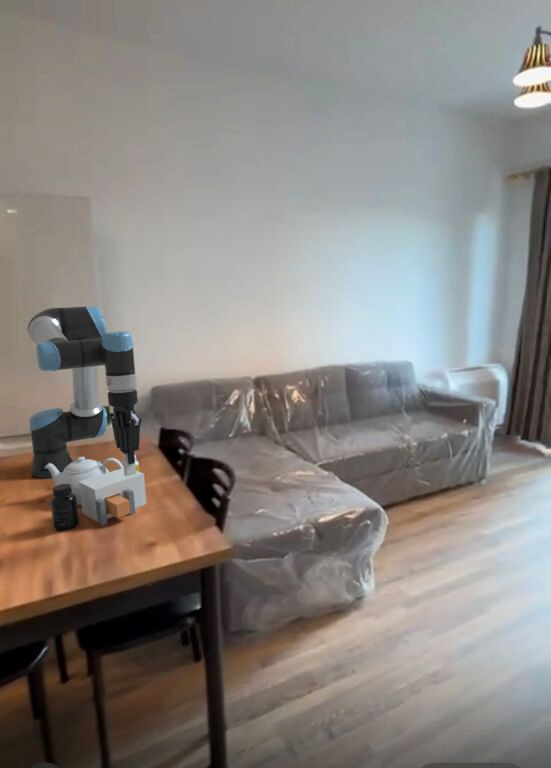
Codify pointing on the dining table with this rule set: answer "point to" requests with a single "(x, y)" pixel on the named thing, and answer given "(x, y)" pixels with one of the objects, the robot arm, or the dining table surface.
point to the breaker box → (111, 493)
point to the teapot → (79, 473)
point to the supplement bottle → (64, 508)
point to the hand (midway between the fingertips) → (130, 474)
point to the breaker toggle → (117, 506)
